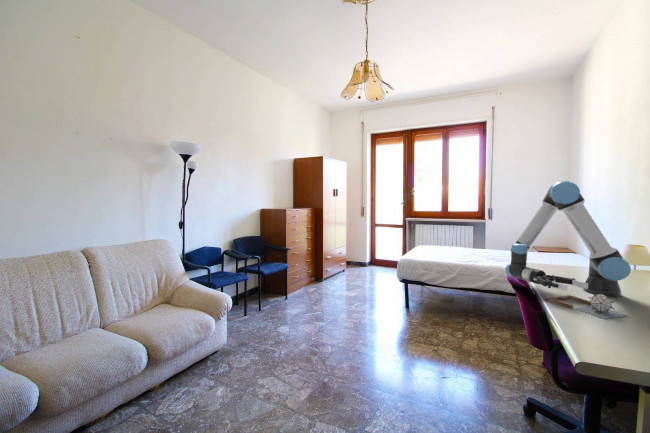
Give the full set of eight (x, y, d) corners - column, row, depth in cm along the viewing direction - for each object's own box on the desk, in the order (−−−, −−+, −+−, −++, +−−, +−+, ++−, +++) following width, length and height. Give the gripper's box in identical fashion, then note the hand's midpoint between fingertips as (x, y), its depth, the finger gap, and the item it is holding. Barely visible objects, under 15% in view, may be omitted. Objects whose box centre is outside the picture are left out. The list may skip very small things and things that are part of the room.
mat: (595, 306, 140) (595, 305, 140) (627, 316, 129) (627, 315, 129) (573, 308, 136) (573, 308, 136) (604, 319, 125) (604, 318, 125)
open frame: (569, 297, 152) (569, 295, 152) (594, 305, 142) (594, 302, 141) (545, 300, 148) (545, 297, 147) (569, 308, 137) (569, 305, 137)
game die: (605, 321, 131) (624, 308, 125) (585, 312, 133) (603, 299, 126) (598, 305, 138) (616, 292, 132) (579, 297, 139) (596, 284, 133)
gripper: (551, 281, 165) (595, 293, 145) (515, 284, 158) (556, 296, 138) (552, 267, 165) (596, 277, 145) (516, 270, 158) (557, 280, 138)
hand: (577, 287), depth 141 cm, fingers open, 13 cm apart
